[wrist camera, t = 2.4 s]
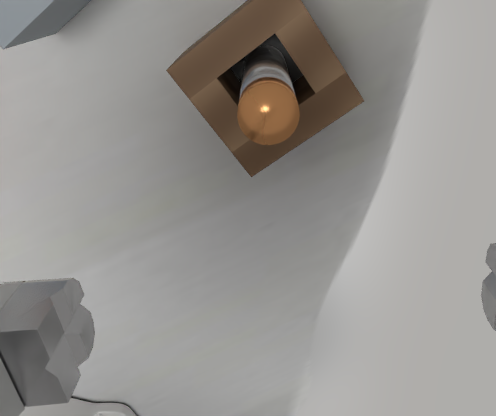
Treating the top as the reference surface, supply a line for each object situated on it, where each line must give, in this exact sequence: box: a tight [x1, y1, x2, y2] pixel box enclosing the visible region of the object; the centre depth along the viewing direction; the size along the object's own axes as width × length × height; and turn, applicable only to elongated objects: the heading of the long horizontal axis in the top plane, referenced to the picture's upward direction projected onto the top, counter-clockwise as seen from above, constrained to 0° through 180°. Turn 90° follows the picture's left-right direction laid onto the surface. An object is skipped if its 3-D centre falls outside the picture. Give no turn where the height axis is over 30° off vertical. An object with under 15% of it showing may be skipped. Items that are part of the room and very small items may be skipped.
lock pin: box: [237, 45, 300, 145], centre depth 26 cm, size 3×3×12 cm
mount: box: [166, 0, 364, 177], centre depth 29 cm, size 8×8×6 cm
